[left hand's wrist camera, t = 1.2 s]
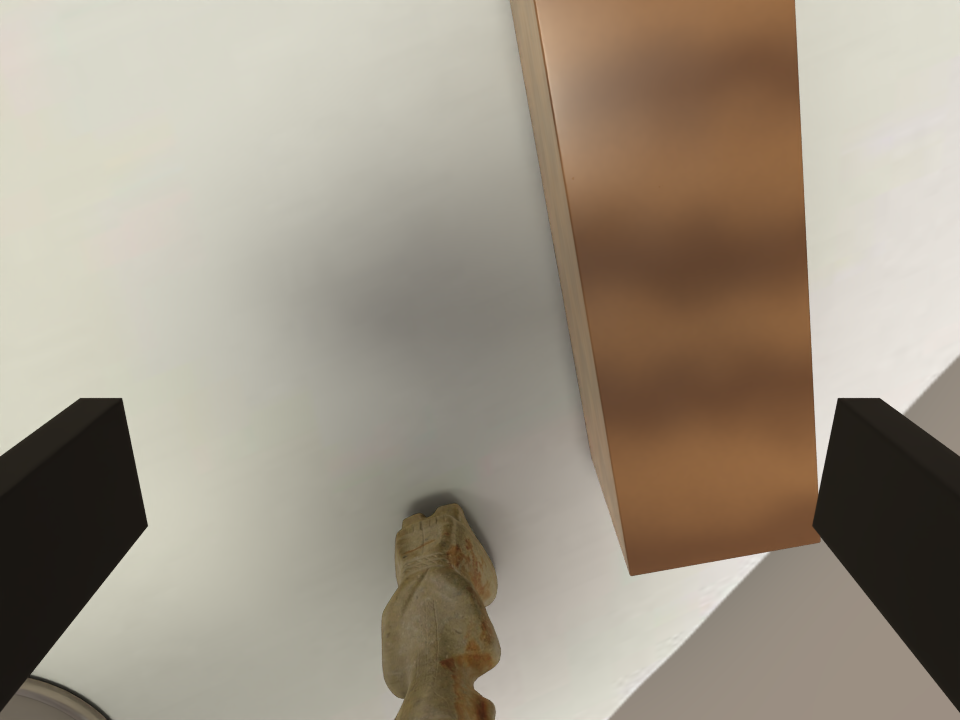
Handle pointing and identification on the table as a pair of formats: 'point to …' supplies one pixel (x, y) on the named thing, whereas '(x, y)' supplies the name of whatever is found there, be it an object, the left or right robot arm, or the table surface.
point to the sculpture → (440, 619)
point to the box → (681, 264)
